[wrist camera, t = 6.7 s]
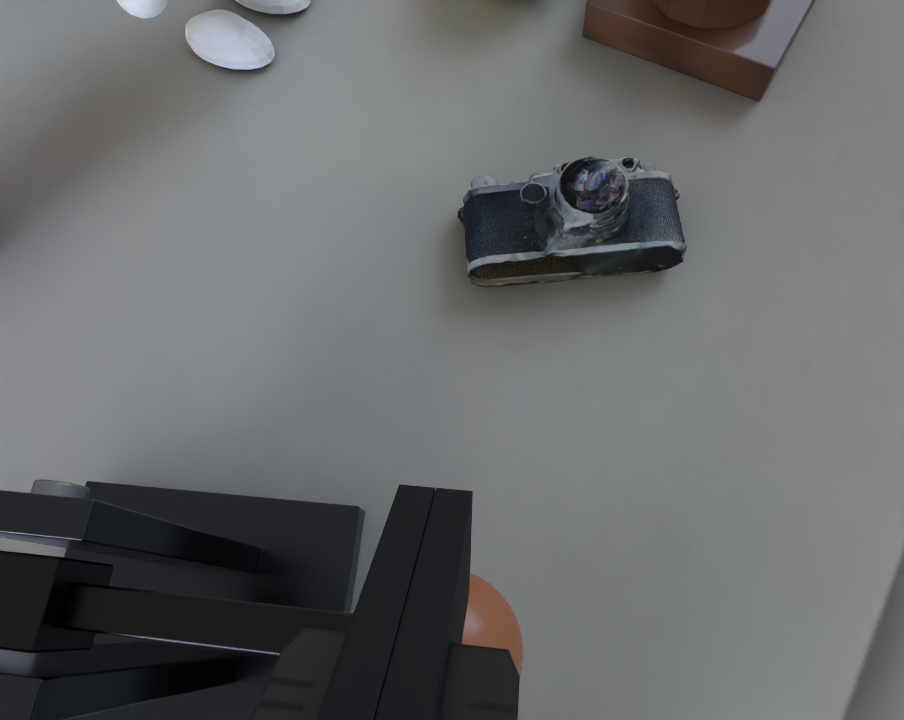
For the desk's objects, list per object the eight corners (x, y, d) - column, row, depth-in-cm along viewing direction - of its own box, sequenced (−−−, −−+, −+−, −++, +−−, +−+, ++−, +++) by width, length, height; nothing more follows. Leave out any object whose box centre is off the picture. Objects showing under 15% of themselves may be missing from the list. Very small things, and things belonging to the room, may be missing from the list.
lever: (528, 581, 18) (526, 571, 15) (519, 733, 17) (515, 760, 13) (47, 532, 20) (-51, 515, 17) (6, 665, 19) (-108, 673, 16)
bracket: (365, 510, 29) (260, 431, 17) (330, 751, 26) (170, 864, 14) (101, 485, 30) (-168, 396, 18) (37, 711, 27) (-340, 782, 15)
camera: (457, 198, 34) (450, 142, 30) (668, 181, 33) (688, 122, 29) (462, 289, 32) (455, 242, 28) (685, 273, 31) (709, 223, 28)
